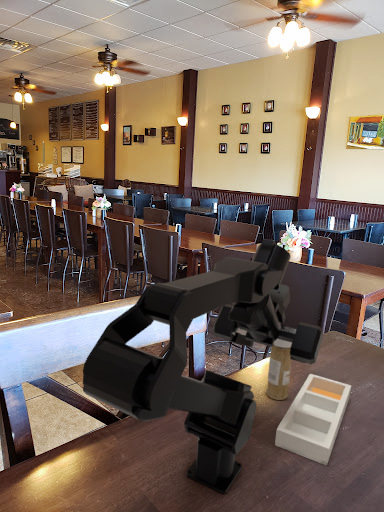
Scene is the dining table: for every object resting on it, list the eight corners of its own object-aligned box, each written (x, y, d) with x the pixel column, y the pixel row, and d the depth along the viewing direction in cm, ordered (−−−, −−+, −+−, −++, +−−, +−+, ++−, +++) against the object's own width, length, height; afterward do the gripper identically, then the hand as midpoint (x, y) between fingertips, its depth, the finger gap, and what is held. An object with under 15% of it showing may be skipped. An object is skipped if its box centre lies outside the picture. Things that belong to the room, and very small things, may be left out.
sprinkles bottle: (291, 400, 80) (298, 339, 77) (269, 401, 79) (276, 339, 76) (283, 388, 84) (289, 330, 81) (262, 389, 83) (268, 330, 81)
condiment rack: (326, 465, 62) (329, 448, 61) (274, 445, 66) (276, 429, 65) (349, 397, 82) (351, 384, 82) (308, 385, 86) (310, 372, 86)
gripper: (328, 282, 63) (334, 326, 74) (224, 263, 72) (244, 305, 84) (308, 343, 58) (318, 381, 69) (200, 314, 67) (224, 352, 78)
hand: (274, 351), depth 75 cm, fingers open, 9 cm apart
